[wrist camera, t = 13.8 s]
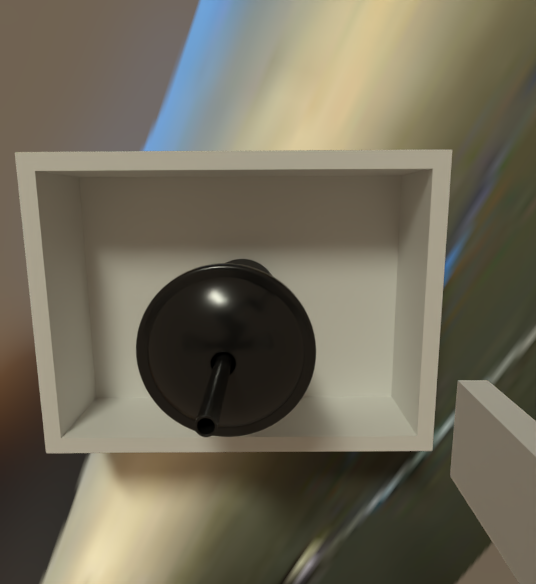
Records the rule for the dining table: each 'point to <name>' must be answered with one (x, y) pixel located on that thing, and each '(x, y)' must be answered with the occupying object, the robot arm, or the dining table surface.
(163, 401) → the drinking cup
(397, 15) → the dining table surface
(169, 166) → the box
